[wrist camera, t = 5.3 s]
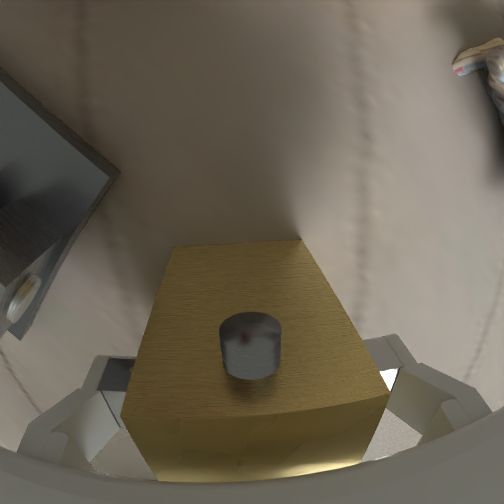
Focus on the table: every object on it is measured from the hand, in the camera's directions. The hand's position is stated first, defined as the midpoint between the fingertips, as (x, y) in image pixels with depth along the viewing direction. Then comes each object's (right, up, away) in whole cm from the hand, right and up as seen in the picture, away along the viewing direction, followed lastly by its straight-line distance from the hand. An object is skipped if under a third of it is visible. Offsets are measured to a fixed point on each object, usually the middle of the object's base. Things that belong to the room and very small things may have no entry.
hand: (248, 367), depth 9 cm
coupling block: (0, +2, +4) cm, 4 cm away
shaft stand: (-14, +8, 0) cm, 17 cm away
